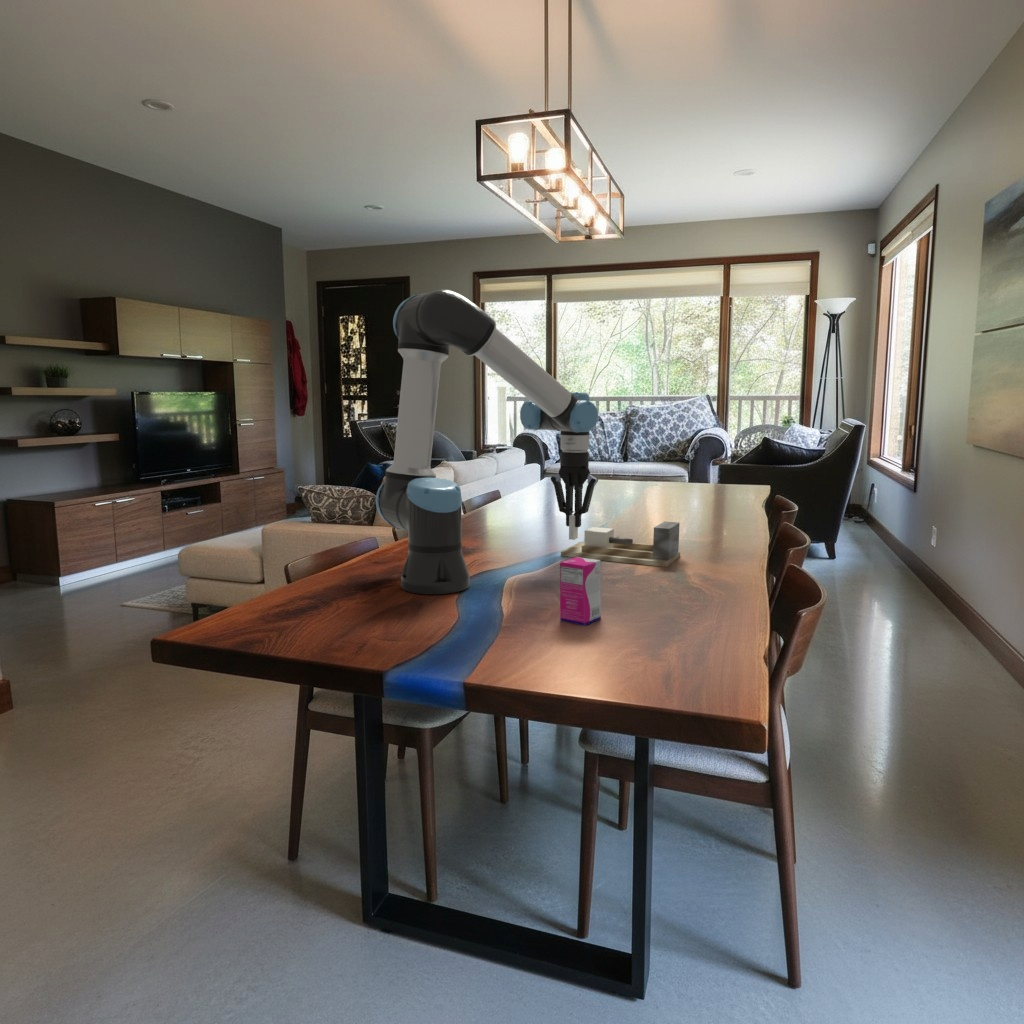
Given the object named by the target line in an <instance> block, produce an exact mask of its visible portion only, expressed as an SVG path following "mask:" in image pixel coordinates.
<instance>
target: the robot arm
mask: <svg viewBox="0 0 1024 1024" xmlns="http://www.w3.org/2000/svg"><path fill="white" fill-rule="evenodd" d="M392 326H393V331H394V334H395V336H396V337H397V339H398V343H397V352H398V354H400V356H401V357H402V360H403V364H402V374H401V382H400V383H401V384H400V395H399V404H398V414H397V423H396V434H395V442H394V443H395V445H394V455H393V462H392V464H391V465H390V466H388V467H387V468H386V469H385V475H384V482H383V483H382V484H381V485H380V486H379V487H378V490H377V492H376V495H375V506H376V509H377V510H376V511H377V513H378V514H379V516H380V518H381V519H382V520H383V521H384V522H386V524H388V525H390V526H392V527H393V528H395V529H397V530H402V531H406V532H407V534H408V535H407V542H408V554H407V557H406V560H405V563H404V566H403V569H402V572H401V573H402V574H401V577H400V588H401V589H402V590H404V591H406V592H409V593H412V594H413V593H414V594H419V595H444V594H445V595H446V594H453V593H454V594H455V593H459V592H462V591H464V590H466V589H468V588H469V587H470V586H471V577H470V576H471V575H470V572H469V569H468V566H467V563H466V561H465V557H464V554H463V552H462V551H463V550H462V547H463V546H462V544H463V543H462V541H463V540H462V538H463V537H462V531H463V529H462V527H463V526H462V524H463V523H462V519H463V518H462V505H463V499H462V490H461V488H460V486H459V484H458V483H456V482H455V481H452V480H451V479H447V478H438V477H437V475H436V473H435V471H434V470H433V469H432V468H431V464H432V463H431V462H432V455H433V454H432V452H433V443H434V436H435V434H434V433H435V426H436V423H435V422H436V416H437V415H436V414H437V407H438V406H437V405H438V397H439V385H440V378H441V377H440V376H441V369H442V365H443V364H442V363H443V362H445V361H446V360H447V359H448V358H449V356H450V355H449V354H450V348H451V347H453V348H456V349H458V350H460V351H461V352H463V353H464V354H465V355H466V356H468V357H473V356H475V357H476V358H477V359H478V360H480V361H481V362H482V363H484V365H486V366H487V367H489V368H490V369H491V370H492V371H493V372H495V373H496V374H497V375H498V376H500V377H501V378H502V379H503V380H505V381H506V382H507V383H508V384H509V385H511V386H512V387H513V388H514V389H516V390H517V391H518V392H519V393H520V394H522V395H523V396H524V397H525V398H527V399H528V400H525V402H524V403H522V405H521V407H520V410H519V414H520V416H519V417H520V422H521V424H522V427H524V428H525V429H526V430H530V431H538V430H540V431H541V430H542V431H543V430H544V431H547V430H548V431H557V432H558V431H560V450H562V451H561V452H560V454H559V457H560V458H559V461H560V462H559V463H560V464H559V465H560V467H559V470H558V473H557V474H555V475H552V476H551V477H550V481H551V483H552V484H553V487H554V492H555V496H556V501H557V507H558V511H559V512H560V513H564V514H565V526H566V527H568V540H571V541H575V540H577V539H578V538H579V537H578V536H579V529H578V528H580V527H582V515H584V514H586V513H588V512H589V508H590V505H591V502H592V497H593V494H594V489H595V486H596V485H597V484H598V482H599V478H598V477H595V476H593V475H591V471H590V469H589V463H590V461H589V460H590V459H589V457H590V454H589V452H588V450H590V431H592V430H593V429H594V428H595V427H596V425H597V423H598V420H599V412H598V407H596V405H595V404H594V402H591V401H590V395H589V393H588V392H586V391H585V392H583V391H575V392H574V391H573V392H572V391H571V392H570V391H569V390H568V389H567V387H565V386H564V385H563V384H561V383H560V382H559V381H557V380H556V378H554V376H552V375H551V374H549V373H548V372H547V371H546V370H545V369H544V368H543V367H542V366H540V365H539V364H538V363H537V362H536V361H534V360H533V359H532V358H531V357H530V356H529V355H528V354H526V352H524V350H522V349H521V348H520V347H519V346H518V345H517V344H515V343H514V342H513V341H512V340H511V339H509V338H508V336H506V335H505V334H503V333H502V332H501V331H500V330H499V329H498V328H497V322H496V321H495V320H494V319H493V318H492V316H490V315H489V314H487V312H485V311H484V309H482V308H481V307H479V306H478V305H477V304H476V303H474V302H473V301H471V300H470V299H468V298H467V297H465V296H464V295H463V294H460V293H459V292H456V291H454V290H453V291H452V290H451V289H444V288H443V289H436V290H433V291H430V292H425V293H418V294H414V295H411V296H409V297H408V298H406V299H405V300H403V301H402V302H400V304H399V305H398V307H397V308H396V310H395V312H394V315H393V319H392ZM450 346H451V347H450ZM562 481H563V483H564V488H563V485H562ZM586 481H587V482H586ZM585 482H586V483H587V485H586V489H585V493H584V496H583V488H584V484H585ZM563 489H564V490H565V492H564V490H563ZM564 493H565V495H564ZM583 497H584V498H583Z"/></svg>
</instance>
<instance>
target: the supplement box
mask: <svg viewBox="0 0 1024 1024" xmlns="http://www.w3.org/2000/svg"><path fill="white" fill-rule="evenodd" d="M601 562H602V560H595V559H587V558H580V557H571V558H570V559H566V560H564V561H560V562H559V601H560V602H559V604H560V605H559V610H560V611H559V612H560V613H559V614H560V619H559V620H560V621H562V622H566V623H570V624H573V625H574V624H575V625H578V626H582V627H585V626H588V625H590V624H592V623H595V622H598V621H600V620H601V619H602V588H601V587H602V583H601V582H602V578H601V577H602V576H601V574H602V572H601V571H602V568H601V567H602V566H601V565H602V563H601Z"/></svg>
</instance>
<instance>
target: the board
mask: <svg viewBox="0 0 1024 1024" xmlns="http://www.w3.org/2000/svg"><path fill="white" fill-rule="evenodd" d="M679 542H680V522H675V521H674V522H673V521H662V522H660V523H659V524H657V525H655V526H654V527H653V542H652V544H651V543H642V542H641V543H639V542H633V544H632V545H625V544H615V543H613V548H607V547H597V546H586V545H584V541H583V542H582V541H580V542H578V543H575V544H574V545H572V546H569V547H567V548H566V549H563V550H561V551H560V557H566V556H569V557H568V558H575V557H580V558H587V559H595V560H601V561H605V562H614V563H626V564H633V565H635V564H636V565H645V566H651V567H652V566H654V567H662V568H664V567H665V568H667V567H668V566H670V565H671V564H672V563H673V562H675V561H676V560H677V559H678V558H680V557H681V551H680V550H679V548H680V546H679V544H680V543H679Z"/></svg>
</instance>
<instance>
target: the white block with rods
mask: <svg viewBox="0 0 1024 1024" xmlns="http://www.w3.org/2000/svg"><path fill="white" fill-rule="evenodd" d="M614 531H615V530H614V528H607V527H595V526H592V527H589V528H587V529H586V530H584V538H583V539H584V541H583V542H584V545H586V546H597V547H607V548H613V543H615V544H625V545H632V544H633V543H634V539H633V538H627V537H625V538H624V537H621V538H620V536H614V534H615V532H614Z"/></svg>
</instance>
